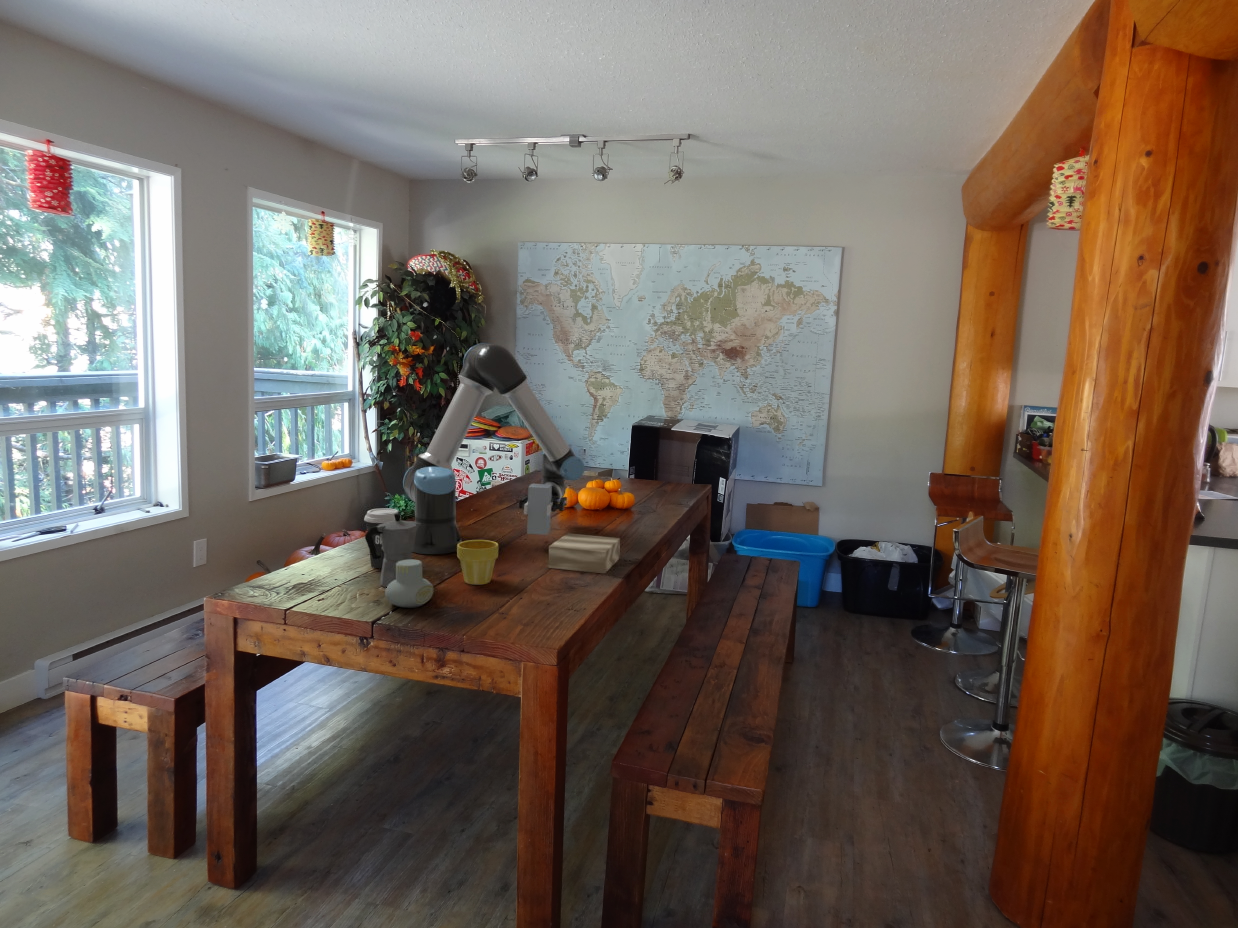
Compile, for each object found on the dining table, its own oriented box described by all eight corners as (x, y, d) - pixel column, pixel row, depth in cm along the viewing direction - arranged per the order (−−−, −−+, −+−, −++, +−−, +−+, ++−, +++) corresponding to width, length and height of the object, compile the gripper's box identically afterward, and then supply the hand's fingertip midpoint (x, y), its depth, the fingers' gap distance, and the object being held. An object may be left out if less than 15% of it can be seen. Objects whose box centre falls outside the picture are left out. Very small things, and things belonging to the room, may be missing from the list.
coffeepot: (411, 574, 207) (410, 506, 204) (431, 582, 200) (430, 512, 198) (356, 585, 195) (355, 515, 193) (376, 594, 189) (375, 521, 186)
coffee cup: (364, 571, 208) (363, 515, 206) (365, 561, 217) (364, 508, 215) (401, 569, 210) (401, 514, 208) (401, 559, 220) (401, 507, 217)
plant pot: (480, 572, 210) (480, 537, 208) (506, 581, 203) (506, 544, 202) (448, 581, 202) (448, 543, 200) (475, 589, 195) (475, 551, 194)
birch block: (604, 573, 212) (605, 551, 211) (548, 567, 216) (548, 546, 215) (619, 558, 228) (620, 538, 227) (566, 553, 232) (567, 533, 231)
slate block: (547, 534, 232) (548, 488, 230) (527, 533, 232) (528, 486, 230) (550, 530, 237) (551, 484, 236) (530, 529, 238) (531, 483, 236)
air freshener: (409, 613, 177) (409, 570, 175) (379, 608, 180) (379, 566, 178) (438, 599, 187) (437, 559, 185) (409, 594, 190) (408, 554, 188)
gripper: (577, 509, 251) (568, 525, 229) (518, 505, 252) (504, 521, 230) (578, 486, 250) (569, 499, 227) (519, 482, 251) (504, 495, 228)
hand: (536, 510), depth 229 cm, fingers closed on slate block, 6 cm apart
